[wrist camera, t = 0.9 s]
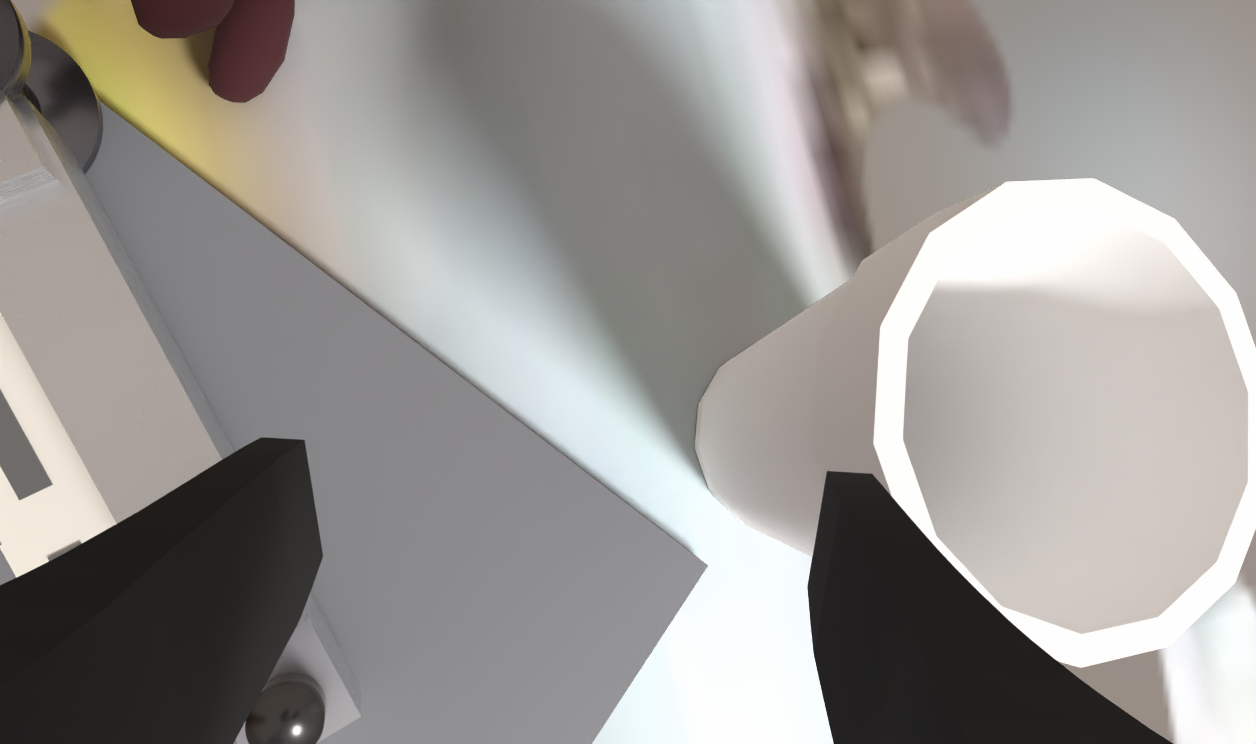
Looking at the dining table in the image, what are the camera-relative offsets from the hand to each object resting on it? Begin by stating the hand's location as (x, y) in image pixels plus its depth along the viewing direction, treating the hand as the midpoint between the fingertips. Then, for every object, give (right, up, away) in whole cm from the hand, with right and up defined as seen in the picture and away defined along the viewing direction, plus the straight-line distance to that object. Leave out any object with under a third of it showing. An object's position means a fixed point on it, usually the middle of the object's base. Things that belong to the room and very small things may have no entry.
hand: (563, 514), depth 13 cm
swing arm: (-12, +2, +11) cm, 16 cm away
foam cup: (+6, 0, +17) cm, 18 cm away
